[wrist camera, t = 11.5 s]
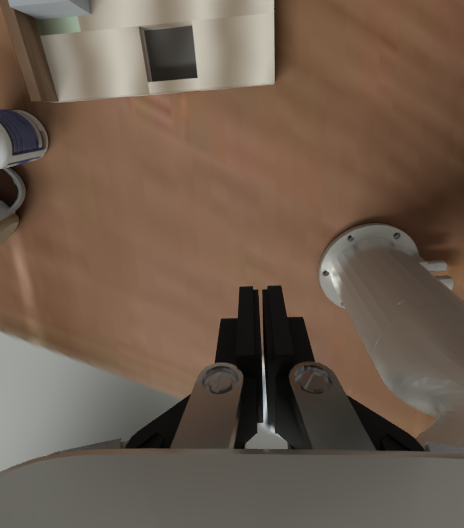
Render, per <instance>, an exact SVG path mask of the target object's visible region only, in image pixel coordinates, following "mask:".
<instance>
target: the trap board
mask: <svg viewBox="0 0 464 528" xmlns="http://www.w3.org/2000/svg"><path fill="white" fill-rule="evenodd" d="M0 5H1V8H2V12H3V15H4V18H5V21H6V24H7V27H8V30H9V33H10V37H11V40H12V43H13V46H14V49H15V52H16V55H17V58H18V61H19V65H20V68H21V71H22V74H23V77H24V80H25V83H26V86H27V90H28V93H29V96H30V99H31V102H53V103H63V102H75V101H87V100H98V99H110V98H122V97H134V96H145V95H157V94H169V93H181V92H192V91H204V90H216V89H228V88H239V87H251V86H263V85H273V84H274V83H275V59H274V0H89V5H90V9H91V14H92V15H85V16H74V17H64V18H53V19H43V20H39V19H36V18H34V17H32V16H30V15H27V14H25V13H23V12H21V11H18V10H16V9H14V8H12V7H10V5H9V2H8V0H0Z"/></svg>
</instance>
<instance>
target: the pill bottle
mask: <svg viewBox="0 0 464 528" xmlns="http://www.w3.org/2000/svg"><path fill="white" fill-rule="evenodd" d="M47 148H48V136H47V133H46V131H45V129H44V127H43V125H42V124H41V123H40V122H39V121H38V120H37V119H36V118H35V117H34V116H33V115H31V114H29V113H27V112H25V111H21V110H0V169H3V168H7V167H12V166H16V165H20V164H24V163H28V162H32V161H35V160H38V159H40V158H42V157H43V156H44V154H45V153H46V151H47Z"/></svg>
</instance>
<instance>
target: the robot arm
mask: <svg viewBox="0 0 464 528" xmlns="http://www.w3.org/2000/svg"><path fill="white" fill-rule="evenodd" d="M350 235H351V236H350ZM348 236H350V237H348ZM446 268H447V264H446V262H445V261H444V260H435V261H425V260H424V259H422V258H421V257H420V256H419V252H418V249H417V247H416V245H415V243H414V241H413V240H412V239H411V238H410V236H408V235H407V234H406V233H405V232H403V231H402V230H400V229H398V228H397V227H394V226H391V225H388V224H383V223H367V224H363V225H359V226H356V227H353V228H351V229H348V230H347V231H345V232H343V233H342V234H340V235H339V236H338V237H337V238H335V239H334V240H333V241H332V242H331V243H330V244H329V246H328V247H327V248H326V250H325V251H324V253H323V255H322V257H321V260H320V263H319V269H318V277H319V282H320V285H321V288H322V290H323V292H324V294H325V295H326V296H327V297H328V299H329V300H331V301H332V302H333V303H334V304H336V305H338V306H339V307H342V308H345V309H346V311H347V313H348V314H349V316H350V318H351V320H352V322H353V324H354V326H355V328H356V330H357V332H358V334H359V336H360V338H361V340H362V342H363V344H364V345H365V347H366V349H367V351H368V353H369V355H370V357H371V359H372V361H373V363H374V365H375V367H376V368H377V370H378V372H379V374H380V376H381V378H382V380H383V381H384V383H385V384H386V386H387V387H388V388H389V389H390V391H391V392H392V393H393V394H394V395H395V396H397V397H398V398H399V399H400V400H401V401H403V402H404V403H406V404H407V405H409V406H411V407H412V408H414V409H416V410H418V411H420V412H423V413H425V414H427V415H430V416H432V417H435V418H438V421H437V422H436V423H435V424H434V425H432V426H431V427H430V428H428V429H427V430H425V431H424V432H422V433H421V434H420V435H419V436H418V437H417V438H414V437H412V436H411V435H410V434H408V433H407V432H405V431H404V430H402V429H400V428H399V427H397V426H396V425H394V424H392V423H391V422H389V421H388V420H386V419H384V418H383V417H381V416H380V415H378V414H376V413H375V412H373V411H372V410H370V409H368V408H367V407H365V406H364V405H362V404H360V403H359V402H357V401H356V400H354V399H352V398H351V397H349V396H347V395H346V393H345V391H344V389H343V388H342V386H341V384H340V382H339V380H338V378H337V376H336V375H335V374H334V372H333V371H332V370H331V369H330V368H328V367H327V366H325V365H323V364H320V363H316V362H315V360H314V356H313V353H312V349H311V345H310V341H309V338H308V334H307V330H306V326H305V323H304V319H303V317H287V314H286V309H285V303H284V298H283V293H282V288H281V286H268V287H267V289H265V290H262V296H263V345H264V362H265V378H266V394H267V410H268V423H274V424H275V433H278V434H279V435H280V436H281V437H282V438H283V439H285V440H286V441H287V447H288V449H247V442H248V441H249V440H250V439H251V438H252V437H253V436H254V435H255V434H256V433H257V423H263V389H262V352H261V333H260V314H259V296H258V290H253V286H246V287H240V288H239V307H238V318H228V319H221V322H220V329H219V336H218V343H217V351H216V358H215V364H211V365H209V366H207V367H205V368H204V369H203V370H202V371H201V372H200V374H199V376H198V378H197V380H196V383H195V385H194V388H193V390H192V393H191V394H190V395H189V396H187V397H186V398H185V399H183V400H182V401H180V402H179V403H177V404H176V405H175V406H174V407H172V408H170V409H169V410H168V411H166V412H165V413H164V414H162V415H160V416H159V417H158V418H156V419H155V420H154V421H152V422H151V423H149V424H148V425H146V426H145V427H144V428H142V429H141V430H139V431H138V432H137V433H136V434H135V435H133V436H132V437H131V439H130V440H128V441H124V442H122V439H121V438H119V439H114V440H110V441H105V442H100V443H96V444H91V445H86V446H82V447H77V448H72V449H68V450H63V451H58V452H55V453H52V454H50V455H47V456H43V457H39V458H35V459H32V460H29V461H27V462H24V463H21V464H18V465H15V466H12V467H10V468H8V469H6V470H3V471H1V472H0V528H464V301H463V300H461V299H460V298H459V297H458V296H457V295H456V294H455V293H453V292H452V291H451V290H452V288H453V280H452V278H451V277H450V276H434V275H433V274H431V273H430V272H429V271H432V272H441V271H445V270H446ZM324 271H325V272H324Z"/></svg>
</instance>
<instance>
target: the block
mask: <svg viewBox="0 0 464 528" xmlns="http://www.w3.org/2000/svg"><path fill="white" fill-rule="evenodd" d="M8 2H9V5H10V7H12V8H14V9H16V10H18V11H21V12H23V13H25V14H27V15H30V16H32V17H34V18H36V19H39V20H43V19H53V18H64V17H74V16H85V15H92V14H91V9H90V5H89V0H8Z"/></svg>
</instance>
